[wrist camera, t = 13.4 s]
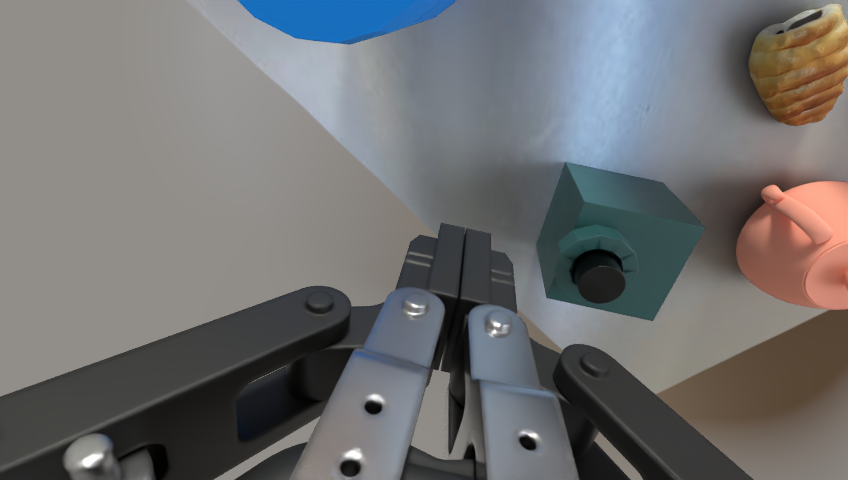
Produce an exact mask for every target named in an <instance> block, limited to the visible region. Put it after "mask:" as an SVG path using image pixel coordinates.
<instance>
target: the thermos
mask: <svg viewBox="0 0 848 480" xmlns="http://www.w3.org/2000/svg"><path fill="white" fill-rule="evenodd" d="M238 1H239V2H240V3H241V4H242V5H243V6H244V7H245V8H246V9H247V10H248V11H249V12H250V13H251V14H252V15H253V16H254V17H255V18H257V19H259V20H261V21H263V22H265V23H267V24H269V25H271V26H273V27H275V28H276V29H278V30H280V31H282V32H284V33H286V34H288V35H290V36H292V37H294V38H298V39H305V40H313V41H322V42H331V43H341V44H353V43H357V42H360V41H364V40H367V39H370V38H374V37H377V36H380V35H384V34H387V33H390V32H393V31H396V30H399V29H402V28H405V27H408V26H411V25H414V24H417V23H419V22H422V21H425V20H428V19H431V18H434V17H436V16H437V15H438V14H440V13H441V12H442V11H443V10H445V9H446V8H447V7H449V6H450V5H451V4H452V3H454V2H455V0H238Z"/></svg>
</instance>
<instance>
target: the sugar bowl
mask: <svg viewBox="0 0 848 480" xmlns="http://www.w3.org/2000/svg"><path fill="white" fill-rule="evenodd" d="M761 196H762V198H763V199H764V201H765V202H766V203H764V204H763V205H762V206H761V207H760V208H758V209H757V210H756V211H755V212H754V213H753V214H752V215H751V217H750V218H749V219H748V220H747V222H746V223H745V225H744V227H743V228H742V230H741V232H740V235H739V237H738V241H737V246H736V256H737V261H738V265H739V267H740V269H741V271H742V273H743V274H744V275H745V277H746V278H747V279H748V280H749V281H751V282H752V283H753V284H754V285H755V286H756V287H758V288H759V289H761V290H762V291H764V292H766V293H767V294H769V295H771V296H773V297H775V298H777V299H780V300H783V301H786V302H789V303H792V304H796V305H801V306H806V307H812V308H820V309H848V183H847V182H839V181H820V182H812V183H808V184H804V185H800V186H797V187H794V188H791V189H789V190H787V191H785V192H782V191H781V190H780V189H779V188H778V187H777V186H776V185H770V186H767V187H765V188H764V189H763V190H762V191H761Z"/></svg>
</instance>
